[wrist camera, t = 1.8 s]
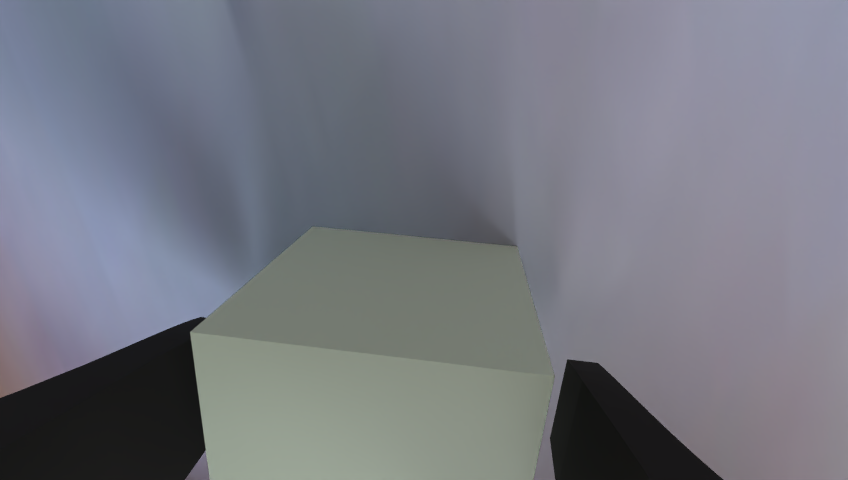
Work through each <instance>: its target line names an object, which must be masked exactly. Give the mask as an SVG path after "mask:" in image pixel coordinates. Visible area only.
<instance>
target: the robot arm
mask: <svg viewBox="0 0 848 480" xmlns="http://www.w3.org/2000/svg"><path fill="white" fill-rule="evenodd" d="M205 319H206V318H204V317H199V318H196V319H193V320H190V321H187V322H185V323H182V324H180V325H177V326H174V327H172V328H170V329H167V330H165V331H162V332H160V333H158V334H155V335H153V336H151V337H148V338H146V339H144V340H141V341H139V342H137V343H134V344H132V345H130V346H127V347H125V348H123V349H120V350H118V351H116V352H113V353H111V354H109V355H106V356H104V357H102V358H99V359H97V360H95V361H92V362H90V363H88V364H85V365H83V366H80V367H78V368H75V369H73V370H70V371H68V372H65V373H63V374H60V375H58V376H55V377H53V378H50V379H48V380H45V381H43V382H40V383H38V384H35V385H33V386H30V387H28V388H25V389H23V390H20V391H18V392H15V393H13V394H10V395H7V396H5V397H2V398H0V480H185V478H186V477H187V476H188V474H189V473H190V471H191V470H192V469H193V467H194V466H195V464H196V463H197V462H198V460H199V459H200V457H201V456H202V455H203V453H204V452H205V450H206V448H205V440H204V433H203V425H202V418H201V410H200V403H199V395H198V388H197V380H196V373H195V365H194V358H193V350H192V343H191V335H190V332H191V331H192V330H193V329H194V328H195V327H197V326H198V325H199V324H200V323H201V322H202V321H203V320H205ZM550 441H551V449H552V457H553V466H554V472H555V479H556V480H723V479H722V478H721V477H719V476H718V475H717V474H716V473H715V472H714V471H712V470H711V469H710V468H709V467H708V466H707V465H705V464H704V463H703V462H702V461H701V460H700V459H699V458H698V457H697V456H695V455H694V454H693V453H692V452H691V451H690V450H689V449H688V448H687V447H685V446H684V445H683V444H682V443H681V442H680V441H679V440H678V439H677V438H676V437H675V436H674V435H672V434H671V433H670V432H669V431H668V430H667V429H666V428H665V427H664V426H663V425H662V424H661V423H660V422H659V421H658V420H657V419H656V418H655V417H654V416H653V415H651V414H650V413H649V412H648V411H647V410H646V409H645V408H644V407H643V406H642V405H641V404H640V403H639V402H638V401H637V400H636V399H635V398H634V397H633V396H632V395H631V394H630V393H629V392H628V391H627V390H626V389H625V388H624V387H623V386H622V385H621V384H620V383H619V382H618V381H617V380H616V379H615V378H614V377H613V376H611V375H610V374H609V373H608V372H607V371H606V370H605V369H604V368H603V367H602V366H601V365H600V364H598V363H593V362H584V361H576V360H567V363H566V367H565V372H564V377H563V381H562V386H561V391H560V395H559V400H558V404H557V409H556V414H555V418H554V423H553V427H552V432H551V437H550Z"/></svg>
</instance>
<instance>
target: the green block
mask: <svg viewBox="0 0 848 480" xmlns="http://www.w3.org/2000/svg"><path fill="white" fill-rule="evenodd" d="M190 335H191V343H192V350H193V358H194V365H195V373H196V380H197V388H198V395H199V403H200V410H201V418H202V425H203V433H204V440H205V448H206V455H207V463H208V470H209V478H210V480H533V479H534V475H535V470H536V465H537V460H538V455H539V450H540V445H541V441H542V436H543V431H544V426H545V421H546V416H547V412H548V407H549V402H550V397H551V392H552V387H553V382H554V378H555V375H554V372H553V369H552V365H551V362H550V358H549V355H548V351H547V348H546V344H545V341H544V337H543V334H542V331H541V327H540V324H539V320H538V317H537V313H536V310H535V306H534V303H533V300H532V296H531V293H530V289H529V286H528V282H527V279H526V275H525V272H524V268H523V265H522V262H521V258H520V255H519V251H518V248H517V246H507V245H497V244H487V243H477V242H467V241H456V240H446V239H436V238H426V237H416V236H406V235H396V234H386V233H376V232H366V231H356V230H346V229H336V228H325V227H315V226H312V227H311V228H310V229H309V230H308V231H306V232H305V233H304V234H303V235H302V236H301V237H299V238H298V239H297V240H296V241H295V242H294V243H293V244H291V245H290V246H289V247H288V248H287V249H286V250H284V251H283V252H282V253H281V254H280V255H279V256H278V257H276V258H275V259H274V260H273V261H272V262H271V263H269V264H268V265H267V266H266V267H265V268H264V269H262V270H261V271H260V272H259V273H258V274H257V275H256V276H254V277H253V278H252V279H251V280H250V281H249V282H247V283H246V284H245V285H244V286H243V287H242V288H241V289H239V290H238V291H237V292H236V293H235V294H234V295H232V296H231V297H230V298H229V299H228V300H227V301H225V302H224V303H223V304H222V305H221V306H220V307H219V308H217V309H216V310H215V311H214V312H213V313H212V314H210V315H209V316H208V317H207V318H206V319H205V320H203V321H202V322H201V323H200V324H199V325H198V326H197V327H195V328H194V329H193V330H192V331H191V332H190Z"/></svg>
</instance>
